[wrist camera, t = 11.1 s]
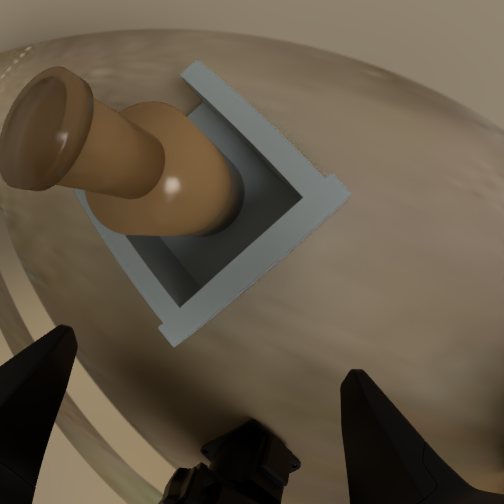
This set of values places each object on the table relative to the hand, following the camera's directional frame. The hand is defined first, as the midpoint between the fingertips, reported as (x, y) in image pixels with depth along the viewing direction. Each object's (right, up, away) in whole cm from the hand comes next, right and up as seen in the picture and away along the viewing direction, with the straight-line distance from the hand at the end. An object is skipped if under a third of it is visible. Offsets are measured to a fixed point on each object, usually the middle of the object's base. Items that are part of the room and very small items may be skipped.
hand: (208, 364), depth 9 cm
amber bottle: (-2, +7, +12) cm, 14 cm away
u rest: (-2, +7, +13) cm, 15 cm away
